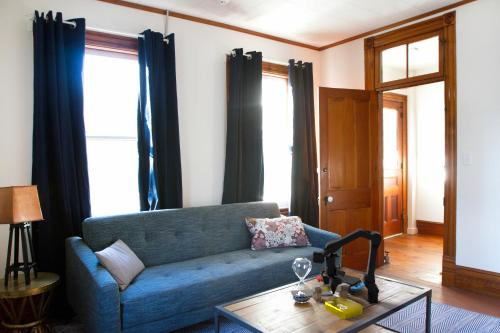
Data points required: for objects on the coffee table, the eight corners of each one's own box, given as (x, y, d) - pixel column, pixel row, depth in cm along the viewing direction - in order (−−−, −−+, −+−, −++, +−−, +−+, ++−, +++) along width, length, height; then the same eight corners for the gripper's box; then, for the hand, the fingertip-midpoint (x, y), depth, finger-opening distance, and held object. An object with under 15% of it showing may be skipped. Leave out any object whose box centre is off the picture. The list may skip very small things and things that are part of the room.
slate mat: (332, 295, 219) (332, 293, 219) (295, 298, 215) (295, 296, 215) (326, 289, 228) (326, 288, 228) (290, 292, 224) (290, 290, 224)
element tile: (364, 313, 196) (364, 304, 196) (344, 320, 188) (344, 311, 188) (342, 303, 209) (343, 295, 208) (323, 309, 200) (323, 301, 200)
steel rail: (347, 290, 214) (347, 284, 214) (314, 292, 210) (314, 287, 210) (345, 288, 217) (345, 282, 217) (312, 290, 214) (312, 285, 213)
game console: (368, 280, 226) (356, 286, 216) (368, 290, 226) (356, 297, 216) (328, 269, 245) (315, 275, 235) (327, 279, 246) (315, 285, 235)
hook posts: (348, 299, 213) (348, 286, 212) (316, 302, 209) (316, 289, 209) (343, 295, 219) (343, 282, 219) (312, 297, 215) (312, 284, 215)
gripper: (351, 268, 205) (350, 296, 206) (337, 258, 224) (336, 284, 225) (332, 269, 203) (331, 297, 204) (319, 259, 222) (319, 285, 222)
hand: (330, 291), depth 214 cm, fingers open, 9 cm apart
